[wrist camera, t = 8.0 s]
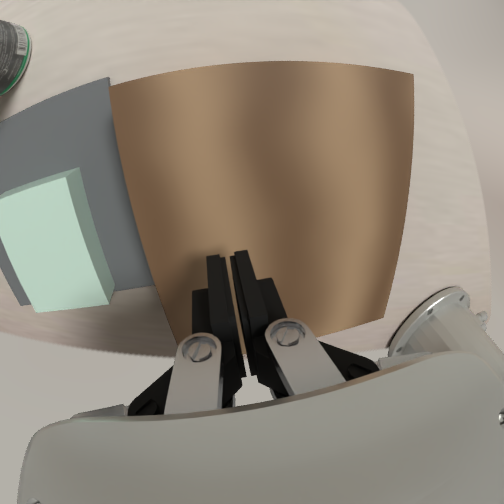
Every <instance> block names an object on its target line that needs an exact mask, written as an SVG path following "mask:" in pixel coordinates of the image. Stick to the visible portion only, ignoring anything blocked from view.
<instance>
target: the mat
mask: <svg viewBox="0 0 504 504" xmlns="http://www.w3.org/2000/svg"><path fill="white" fill-rule="evenodd" d="M108 87H110V78H109V77H106V78H103V79H100V80H97V81H94V82H91V83H88V84H85V85H82V86H79V87H76V88H74V89H71V90H68V91H66V92H63V93H61V94H58V95H56V96H53V97H51V98H49V99H46V100H44V101H42V102H40V103H38V104H35V105H33V106H31V107H29V108H27V109H25V110H23V111H21V112H19V113H17V114H15V115H13V116H11V117H9V118H8V119H6V120H4V121H2V122H0V195H1V194H3V193H4V192H6V191H9V190H11V189H14V188H17V187H19V186H22V185H25V184H28V183H30V182H33V181H36V180H39V179H42V178H45V177H48V176H51V175H54V174H58V173H61V172H64V171H68V170H71V169H75V168H78V167H79V168H80V173H81V177H82V181H83V185H84V189H85V193H86V197H87V201H88V205H89V208H90V212H91V215H92V219H93V222H94V225H95V229H96V232H97V235H98V238H99V241H100V244H101V247H102V250H103V253H104V256H105V259H106V262H107V265H108V267H109V270H110V273H111V275H112V278H113V281H114V283H115V287H114V290H113V292H114V291H120V290H126V289H133V288H139V287H145V286H151V285H155V283H154V280H153V277H152V274H151V271H150V268H149V265H148V261H147V258H146V255H145V252H144V248H143V245H142V242H141V238H140V235H139V231H138V228H137V224H136V221H135V217H134V213H133V209H132V206H131V202H130V198H129V194H128V190H127V185H126V181H125V177H124V172H123V168H122V163H121V159H120V154H119V149H118V144H117V138H116V133H115V127H114V122H113V116H112V109H111V103H110V96H109V88H108ZM0 268H1V270H2V272H3V274H4V276H5V278H6V280H7V282H8V284H9V286H10V287H11V289H12V291H13V293H14V295H15V297H16V298H17V300H18V302H19V304H20V305H21V306H23V305H30V304H31V302H30V300H29V298H28V296H27V295H26V293H25V291H24V289H23V287H22V285H21V283H20V281H19V279H18V277H17V275H16V273H15V270H14V268H13V266H12V264H11V262H10V259H9V257H8V255H7V252H6V250H5V248H4V245H3V243H2V240H1V237H0Z"/></svg>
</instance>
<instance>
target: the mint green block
mask: <svg viewBox="0 0 504 504" xmlns="http://www.w3.org/2000/svg"><path fill="white" fill-rule="evenodd" d="M0 237H1V240H2V243H3V245H4V248H5V250H6V252H7V255H8V257H9V259H10V262H11V264H12V266H13V268H14V270H15V273H16V275H17V277H18V279H19V281H20V283H21V285H22V287H23V289H24V291H25V293H26V295H27V296H28V298H29V300H30V302H31V304H32V306H33V307H34V309H35V311H36V313H38V312H48V311H57V310H66V309H75V308H84V307H92V306H100V305H108V304H110V300H111V297H112V293H113V290H114V287H115V283H114V281H113V278H112V275H111V273H110V270H109V267H108V265H107V262H106V259H105V256H104V253H103V250H102V247H101V244H100V241H99V238H98V235H97V232H96V229H95V225H94V222H93V219H92V215H91V212H90V208H89V205H88V201H87V197H86V193H85V189H84V185H83V181H82V177H81V173H80V168H79V167H78V168H75V169H71V170H68V171H64V172H61V173H58V174H54V175H51V176H48V177H45V178H42V179H39V180H36V181H33V182H30V183H28V184H25V185H22V186H19V187H17V188H14V189H11V190H9V191H6V192H4V193H3V194H1V195H0Z"/></svg>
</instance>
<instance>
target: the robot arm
mask: <svg viewBox="0 0 504 504" xmlns="http://www.w3.org/2000/svg"><path fill="white" fill-rule="evenodd" d="M229 257H230V264H231V270H232V277H233V283H234V289H235V295H236V302H237V308H238V313H239V318H240V324H241V329H242V334H243V339H244V343H245V348H246V353H247V358H248V363H249V368H250V372H251V376H254V375H257V378H258V382H259V383H261V384H263V385H265V386H267V387H269V388H270V392H271V394H272V396H273V398H274V400H271V401H265V402H261V403H255V404H249V405H243V406H237V407H235V395H234V394H235V393H236V392H237V391H238V390H239V389H240V388H241V387H242V380H241V378H242V377H247V376H246V371H245V366H244V360H243V355H242V349H241V344H240V338H239V333H238V327H237V322H236V316H235V311H234V305H233V299H232V294H231V288H230V282H229V277H228V271H227V265H226V259H225V257H220V255H219V254H217V255H211V256H206V262H207V279H208V288H204V289H198V290H193V291H192V335H190V336H188V337H186V338H185V339H183V340H182V342H181V343H180V344H179V346H178V348H177V352H176V357H175V361H174V365H173V366H172V367H171V368H170V369H169V370H167V371H166V372H165V373H164V374H163V375H162V376H161V377H160V378H158V379H157V380H156V381H155V382H154V383H153V384H151V385H150V386H149V387H148V388H147V389H146V390H145V391H143V392H142V393H141V394H140V395H139V396H138V397H136V398H135V399H134V400H133V401H132V403H131V404H130V405H129V406H124V405H123V404H121V405H116V406H112V407H108V408H103V409H98V410H93V411H88V412H83V413H78V414H76V415H74V416H73V417H72V418H70V419H67V420H63V421H58V422H55V423H52V424H49V425H47V426H45V427H43V428H41V429H40V430H38V431H37V432H36V433H35V434H34V435H33V437H32V438H31V440H30V442H29V444H28V447H27V450H26V453H25V456H24V460H23V465H22V469H21V474H20V481H19V488H18V498H17V504H504V354H503V353H502V351H501V350H500V349H499V348H498V346H497V345H496V344H495V343H494V342H493V340H492V339H491V338H490V337H489V336H488V335H487V333H486V332H485V331H486V324H485V322H484V321H486V320H487V317H488V316H487V313H486V312H485V311H482V312H480V313H478V314H477V315H475V314H474V313H473V312H472V311H471V310H470V309H469V306H470V298H469V295H468V294H467V293H466V292H465V291H464V290H463V289H462V288H460V287H452V288H448V289H445V290H443V291H441V292H439V293H437V294H435V295H434V296H433V297H431V298H430V299H428V300H427V301H426V302H425V303H423V304H422V305H421V306H420V307H419V308H418V309H417V310H416V311H415V312H414V313H413V314H412V315H411V316H410V317H409V318H408V319H407V320H406V321H405V323H404V324H403V325H402V326H401V328H400V329H399V330H398V332H397V333H396V335H395V337H394V338H393V340H392V342H391V345H390V347H389V351H388V357H385V358H379V360H378V361H377V362H373V361H372V360H370V359H368V358H366V357H363V356H359V355H357V354H354V353H351V352H348V351H345V350H343V349H340V348H337V347H334V346H332V345H329V344H326V343H323V342H321V341H318V340H317V339H316V337H315V336H314V334H313V333H312V331H311V330H310V328H309V327H308V326H307V325H306V324H305V323H304V322H302V321H300V320H298V319H294V318H288V317H287V314H286V312H285V309H284V307H283V304H282V301H281V299H280V296H279V294H278V291H277V289H276V286H275V284H274V281H273V279H272V278H271V277H270V278H265V279H259V280H257V279H256V276H255V273H254V269H253V266H252V263H251V260H250V257H249V253H248V250H242V251H235V252H234V255H233V256H229Z"/></svg>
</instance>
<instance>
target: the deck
mask: <svg viewBox="0 0 504 504" xmlns="http://www.w3.org/2000/svg"><path fill="white" fill-rule="evenodd" d="M108 88H109V96H110V103H111V109H112V116H113V122H114V127H115V133H116V138H117V144H118V149H119V154H120V159H121V163H122V168H123V172H124V177H125V181H126V185H127V190H128V194H129V198H130V202H131V206H132V209H133V213H134V217H135V221H136V224H137V228H138V231H139V235H140V238H141V242H142V245H143V248H144V252H145V255H146V258H147V261H148V265H149V268H150V271H151V274H152V277H153V280H154V283H155V286H156V289H157V292H158V294H159V297H160V300H161V303H162V306H163V308H164V311H165V314H166V317H167V319H168V322H169V325H170V327H171V330H172V332H173V335H174V337H175V340H176V342H177V345H178V346H179V344H180V343H181V342H182V340H183V339H185V338H186V337H188V336H190V335H192V291H193V290H198V289H204V288H208V279H207V262H206V256H211V255H217V254H219V255H220V257H225V259H226V265H227V271H228V277H229V282H230V288H231V294H232V299H233V305H234V311H235V316H236V322H237V327H238V333H239V338H240V344H241V349H242V354H246V348H245V343H244V339H243V334H242V329H241V324H240V318H239V313H238V308H237V302H236V295H235V289H234V283H233V277H232V270H231V264H230V257H229V256H233V255H234V252H235V251H242V250H248V253H249V257H250V260H251V263H252V266H253V269H254V273H255V276H256V279H257V280H259V279H265V278H270V277H271V278H272V279H273V281H274V284H275V286H276V289H277V291H278V294H279V296H280V299H281V301H282V304H283V307H284V309H285V312H286V314H287V317H288V318H294V319H298V320H300V321H302V322H304V323H305V324H306V325H307V326H308V327H309V328H310V330H311V331H312V333H313V334H314V336H315V337H320V336H324V335H327V334H331V333H335V332H338V331H342V330H345V329H349V328H352V327H355V326H359V325H362V324H365V323H368V322H371V321H375V320H378V319H381V318H383V317H384V314H385V310H386V306H387V303H388V299H389V295H390V291H391V287H392V283H393V279H394V274H395V270H396V265H397V260H398V256H399V251H400V245H401V240H402V235H403V229H404V223H405V216H406V209H407V202H408V194H409V186H410V177H411V166H412V153H413V135H414V76H413V74H410V73H405V72H400V71H394V70H389V69H382V68H376V67H369V66H361V65H352V64H342V63H328V62H308V61H267V62H246V63H233V64H222V65H213V66H205V67H198V68H191V69H185V70H179V71H173V72H168V73H163V74H158V75H153V76H149V77H144V78H140V79H136V80H132V81H128V82H124V83H120V84H117V85H113V86H110V87H108Z"/></svg>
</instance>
